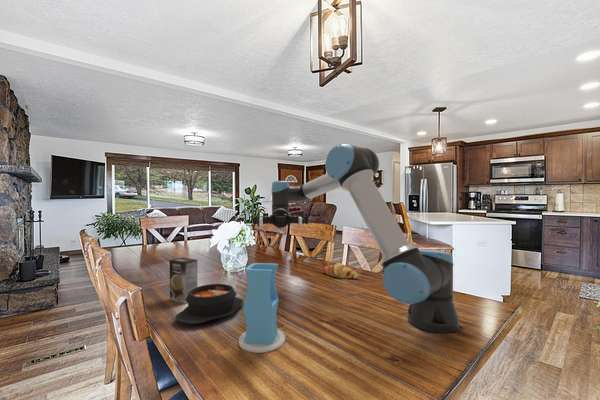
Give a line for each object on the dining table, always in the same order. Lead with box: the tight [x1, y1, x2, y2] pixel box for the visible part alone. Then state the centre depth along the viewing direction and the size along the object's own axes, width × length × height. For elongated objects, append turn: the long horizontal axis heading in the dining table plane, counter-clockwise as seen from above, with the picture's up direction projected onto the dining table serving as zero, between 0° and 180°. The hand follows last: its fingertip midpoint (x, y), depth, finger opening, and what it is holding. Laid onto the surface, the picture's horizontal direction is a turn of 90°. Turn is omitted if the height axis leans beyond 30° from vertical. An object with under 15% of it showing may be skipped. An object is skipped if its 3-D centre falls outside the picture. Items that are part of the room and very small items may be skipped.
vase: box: [243, 262, 280, 345], centre depth 80 cm, size 8×8×20 cm
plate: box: [238, 328, 286, 354], centre depth 80 cm, size 13×13×1 cm
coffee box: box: [169, 257, 198, 305], centre depth 113 cm, size 9×6×16 cm
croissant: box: [321, 262, 360, 280], centre depth 146 cm, size 21×10×8 cm, turn 53°
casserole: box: [174, 283, 245, 325], centre depth 99 cm, size 25×19×8 cm
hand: (280, 222), depth 96 cm, fingers open, 13 cm apart
